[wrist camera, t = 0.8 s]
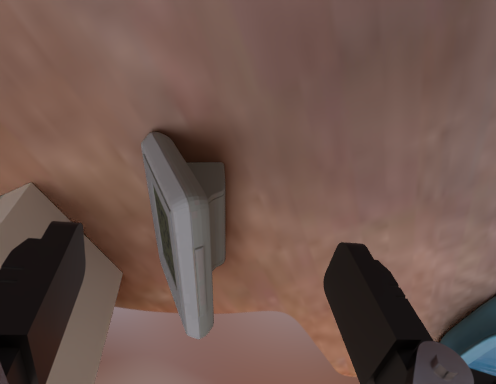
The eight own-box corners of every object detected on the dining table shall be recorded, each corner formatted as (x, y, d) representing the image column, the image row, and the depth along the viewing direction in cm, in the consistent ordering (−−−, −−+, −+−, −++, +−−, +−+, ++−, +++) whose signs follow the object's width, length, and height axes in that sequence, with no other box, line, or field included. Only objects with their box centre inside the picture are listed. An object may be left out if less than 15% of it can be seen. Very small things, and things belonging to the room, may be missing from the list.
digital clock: (144, 118, 29) (117, 192, 20) (249, 136, 30) (265, 212, 22) (135, 253, 38) (113, 345, 29) (216, 261, 39) (218, 349, 31)
